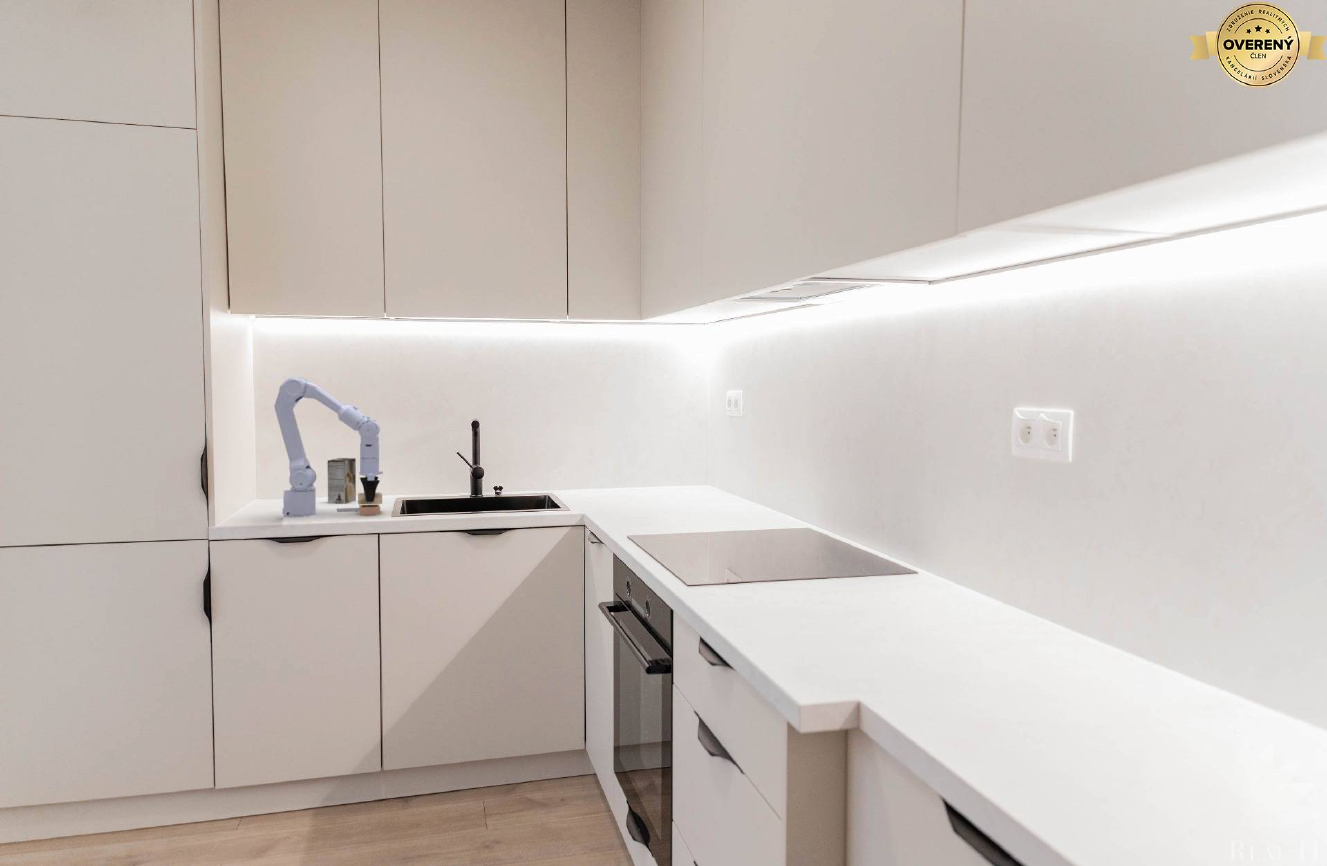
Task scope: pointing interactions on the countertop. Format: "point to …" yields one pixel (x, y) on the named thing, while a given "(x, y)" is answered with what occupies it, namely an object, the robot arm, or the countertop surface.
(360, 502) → the tan rectangular block
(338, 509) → the mat
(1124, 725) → the countertop surface
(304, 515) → the robot arm
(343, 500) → the coffee box
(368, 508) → the pink square tray
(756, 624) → the countertop surface
